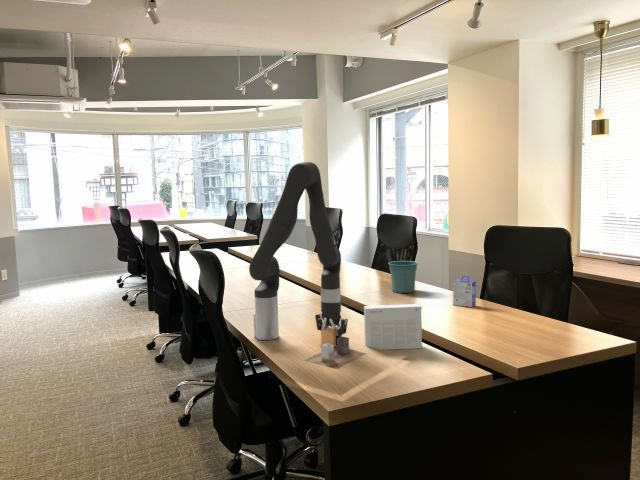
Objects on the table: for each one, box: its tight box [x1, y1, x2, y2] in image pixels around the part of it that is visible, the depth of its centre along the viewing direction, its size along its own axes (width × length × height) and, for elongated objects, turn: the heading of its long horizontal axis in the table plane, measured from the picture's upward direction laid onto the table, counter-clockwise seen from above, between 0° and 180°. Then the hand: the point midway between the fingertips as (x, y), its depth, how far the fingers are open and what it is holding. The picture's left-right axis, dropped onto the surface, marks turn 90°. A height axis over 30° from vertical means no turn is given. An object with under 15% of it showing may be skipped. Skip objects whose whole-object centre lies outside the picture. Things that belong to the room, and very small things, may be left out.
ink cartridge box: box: [452, 275, 477, 308], centre depth 250 cm, size 10×6×14 cm, turn 53°
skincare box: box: [363, 303, 423, 351], centre depth 190 cm, size 21×5×16 cm, turn 92°
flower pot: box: [387, 260, 418, 294], centre depth 284 cm, size 16×16×16 cm
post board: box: [304, 336, 367, 370], centre depth 177 cm, size 14×18×7 cm
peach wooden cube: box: [320, 326, 343, 347], centre depth 192 cm, size 6×6×7 cm
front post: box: [320, 343, 334, 363], centre depth 173 cm, size 3×3×6 cm
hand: (331, 343), depth 192 cm, fingers closed on peach wooden cube, 5 cm apart
